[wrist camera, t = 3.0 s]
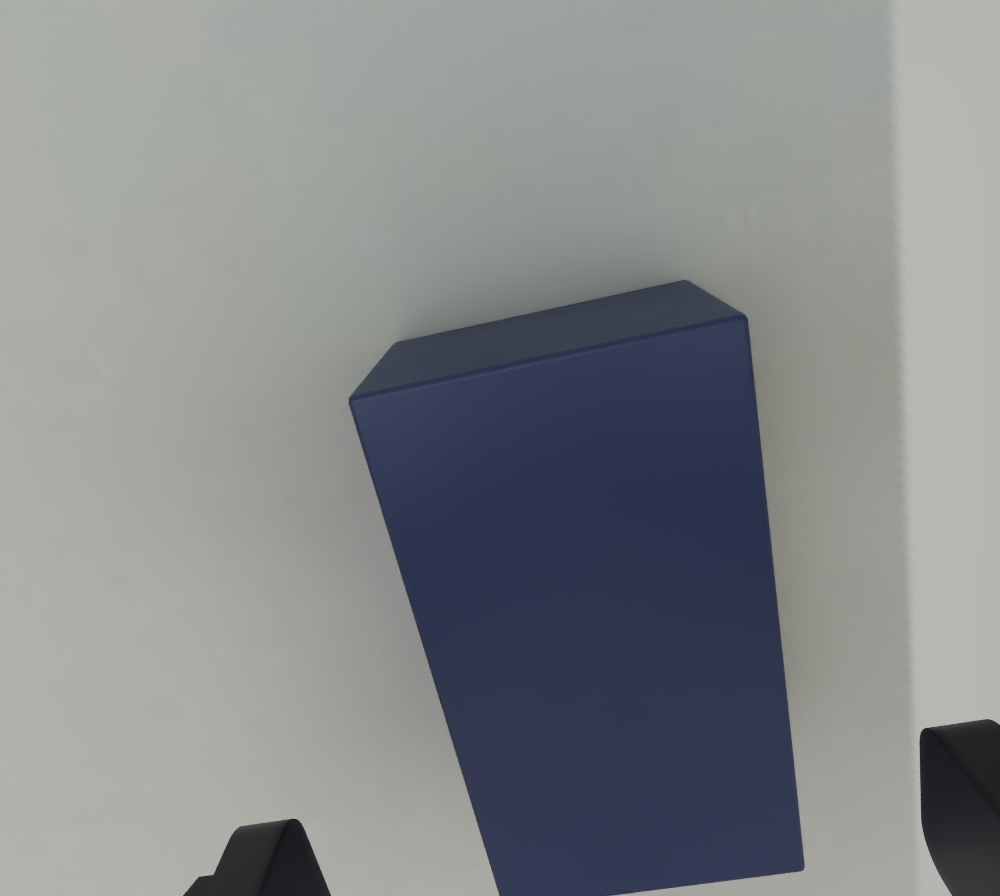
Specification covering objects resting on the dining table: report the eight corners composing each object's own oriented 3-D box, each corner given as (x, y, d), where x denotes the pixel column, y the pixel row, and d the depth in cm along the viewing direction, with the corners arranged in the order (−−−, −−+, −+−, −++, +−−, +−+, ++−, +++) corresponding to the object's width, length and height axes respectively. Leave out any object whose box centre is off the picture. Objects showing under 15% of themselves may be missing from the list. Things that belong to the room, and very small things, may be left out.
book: (690, 277, 14) (753, 312, 10) (748, 725, 17) (809, 873, 14) (391, 342, 14) (345, 398, 11) (507, 761, 18) (502, 911, 14)
